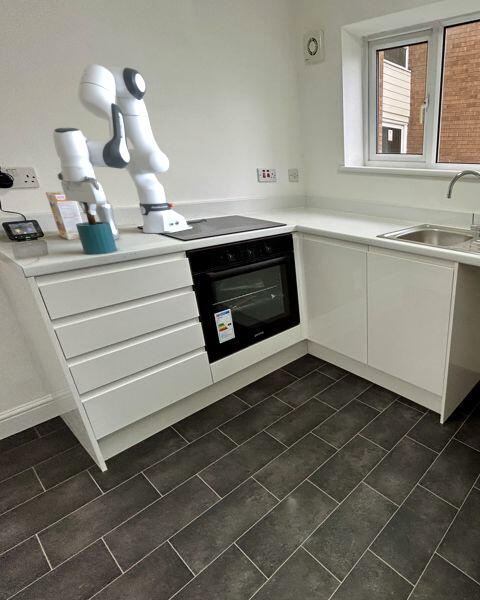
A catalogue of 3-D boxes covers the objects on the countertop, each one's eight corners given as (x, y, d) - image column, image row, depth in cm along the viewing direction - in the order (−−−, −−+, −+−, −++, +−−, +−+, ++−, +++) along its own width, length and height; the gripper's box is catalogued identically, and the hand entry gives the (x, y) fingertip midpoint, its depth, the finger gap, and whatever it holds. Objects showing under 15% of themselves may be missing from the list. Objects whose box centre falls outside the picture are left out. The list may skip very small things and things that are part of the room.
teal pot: (107, 247, 145) (100, 220, 141) (122, 250, 142) (115, 223, 138) (79, 252, 137) (70, 223, 133) (93, 255, 133) (85, 226, 129)
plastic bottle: (109, 241, 155) (96, 195, 147) (99, 240, 157) (86, 194, 149) (124, 239, 160) (113, 194, 153) (114, 237, 162) (102, 193, 155)
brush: (100, 239, 140) (88, 197, 134) (105, 240, 138) (94, 197, 133) (88, 240, 137) (76, 197, 131) (94, 241, 135) (82, 198, 129)
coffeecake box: (59, 235, 164) (44, 191, 156) (78, 233, 169) (65, 191, 162) (67, 240, 155) (53, 194, 148) (88, 237, 161) (75, 193, 154)
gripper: (105, 177, 128) (115, 215, 133) (75, 174, 135) (85, 211, 140) (85, 177, 122) (96, 217, 127) (54, 174, 130) (65, 212, 135)
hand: (90, 214), depth 134 cm, fingers closed on brush, 2 cm apart
